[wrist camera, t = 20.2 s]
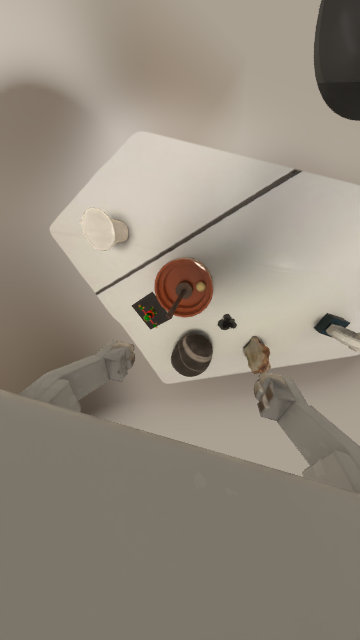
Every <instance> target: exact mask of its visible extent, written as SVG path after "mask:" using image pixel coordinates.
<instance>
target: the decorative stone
mask: <svg viewBox="0 0 360 640" xmlns="http://www.w3.org/2000/svg"><path fill="white" fill-rule="evenodd" d="M212 354H213V350H212V345H211V343H210V342H209V340H208V339H206V338H205V337H203V336H201V335H198V334H190V335H187V336H186V337H184V338H183V339H182V340H181V341H180V342H179V343H178V344H177V345H176V347H175V349H174V350H173V352H172V356H171V363H172V366H173V367H174V368H175V370H176V371H177V372H179V373H180V374H182V375H184V376H187V377H192V376H197V375H199V374H201V373H202V372H204V371H205V370H206V369H207V367H208V366H209V364H210V362H211V359H212Z"/></svg>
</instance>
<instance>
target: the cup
mask: <svg viewBox="0 0 360 640" xmlns="http://www.w3.org/2000/svg"><path fill="white" fill-rule="evenodd" d="M80 223H81V225H82V229H83V232H84V235H85V237H86V239H87V240H88V242H89V243H90V244H91V245H92V246H93V247H94V248H96V249H98V250H101V251H106V250H109V249H110V248H112V247H113V246H114V244H116V243H118V242H125V241H126V240H127V238H128V229H127V226H126V225H125V223H123V222H122V221H119V220H114V219H112V218H110V217H109V216H108V215H107V214H106V213H105V212H103V211H102V210H101V209H98V208H90V209H88V210H87V211H86V212H85V213H84V215H83V218H82V220H81V221H80Z"/></svg>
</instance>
